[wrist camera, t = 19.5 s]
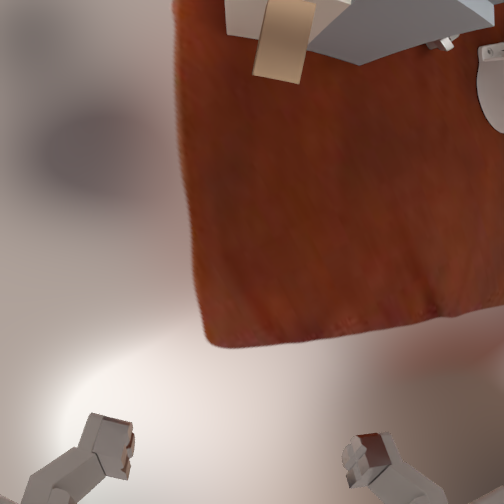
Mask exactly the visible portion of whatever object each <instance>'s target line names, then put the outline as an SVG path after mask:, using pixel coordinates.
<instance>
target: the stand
mask: <svg viewBox="0 0 504 504" xmlns="http://www.w3.org/2000/svg"><path fill="white" fill-rule="evenodd" d="M267 1H268V0H225V15H226V29H227V35H233V36H239V37H246V38H252V39H258V40H259V36H260V31H261V27H262V22H263V17H264V13H265V8H266V4H267ZM303 1H308V2H311V3H315V4H316V9H315V13H314V18H313V23H312V27H311V32H310V36H309V41H308V46H307V50H308V51H312V52H316V53H320V54H323V55H327V56H330V57H334V58H337V59H340V60H344V61H347V62H350V63H353V64H356V65H359V66H360V65H363V64H365V63H368V62H371V61H374V60H376V59H379V58H382V57H385V56H387V55H390V54H393V53H396V52H399V51H402V50H405V49H408V48H411V47H415V46H418V45H421V44H424V43H428V42H431V41H435V40H438V39H442V38H446V37H449V36H453V35H457V34H461V33H465V32H469V31H474V30H478V29H483V28H488V27H493V26H494V5H495V4H499V3H503V2H504V0H303Z"/></svg>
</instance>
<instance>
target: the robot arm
mask: <svg viewBox="0 0 504 504" xmlns="http://www.w3.org/2000/svg"><path fill="white" fill-rule="evenodd" d="M478 57H479V69H478V74H477V91H478V97H479V101H480V104H481V107H482V110H483V112H484V114H485V116H486V118H487V120H488V121H489V123H490V124H491V125H492V126H493V127H494V128H495V129H496V130H497V131H499V132H501V133H504V42H500V43H495V44H490V45H485V46H480V47H479V48H478ZM132 430H133V425H132V422H127V421H123V420H119V419H114V418H110V417H106V416H103V415H99V414H95V413H91V414H90V415H89V417H88V419H87V422H86V425H85V427H84V430H83V433H82V436H81V439H80V442H79V444H78V447H77V448H76V447H73V448H71V449H70V450H68V451H67V452H66V453H64V454H63V455H61V456H60V457H58V458H57V459H55V460H54V461H52V462H51V463H49V464H48V465H46V466H45V467H44V468H42V469H40V470H39V471H37V472H36V473H34V474H33V475H31V476H30V478H29V481H28V484H27V487H26V490H25V492H24V495H23V498H22V501H21V504H77V502H79V501H80V500H81V499H82V498H83V497H84V496H85V495H86V494H88V493H89V492H90V491H91V490H92V489H93V488H94V487H95V486H96V485H97V484H98V483H100V482H101V481H102V480H103V479H104V478H105V476H109V477H114V478H118V479H123V480H128V477H129V472H130V468H131V465H130V461H129V459H130V458H131V457H132V456H133V452H134V446H135V436H134V433H132ZM342 463H343V466H344V468H346V469H347V470H348V472H347V474H346V478H347V481H348V484H349V488H357V487H364V486H368V488H369V489H370V490H371V491H372V492H373V493H374V494H375V495H376V496H377V497H378V498H380V500H381V501H382V502H383V503H384V504H449V503H448V501H447V498H446V496H445V493H444V491H443V489H442V488H441V487H439V486H438V485H437V484H435V483H434V482H433V481H431V480H430V479H428V478H427V477H426V476H424V475H423V474H422V473H420V472H419V471H418V470H416V469H415V468H413V467H412V466H411V465H409V464H408V463H407V462H403V461H402V458H401V456H400V454H399V451H398V449H397V447H396V444H395V442H394V440H393V437H392V435H391V434H390V433H389V432H381V433H372V434H364V435H356V436H354V437H353V438H352V439H351V444H349V445H347V446H346V447H345V449H344V450H343V453H342ZM0 504H18V503H16V502H14V501H12V500H10V499H8V498H6V497H4V496H2V495H0ZM468 504H504V485H503V486H500V487H498V488H497V489H495V490H493V491H491V492H489V493H488V494H486V495H484V496H482V497H480V498H478V499H476V500H474V501H472V502H470V503H468Z"/></svg>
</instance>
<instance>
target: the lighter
mask: <svg viewBox="0 0 504 504" xmlns="http://www.w3.org/2000/svg"><path fill="white" fill-rule="evenodd" d="M458 36H459V34H457V35H453V36H449V37H446V38H442V39H438V40H435V41H431V42H428V43H425V44H426V45H427V46H428V48H429V49H434V48H438V49H439V50H443V51H449V50H450V49H452V48H454V46H453V44H452V43H451V42H452V41H453V40H454V39H456V38H457V37H458Z"/></svg>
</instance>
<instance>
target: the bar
mask: <svg viewBox="0 0 504 504" xmlns="http://www.w3.org/2000/svg"><path fill="white" fill-rule="evenodd" d="M315 9H316V4H315V3H311V2H308V1H303V0H268V1H267V4H266V8H265V13H264V17H263V22H262V27H261V31H260V36H259V41H258V46H257V51H256V56H255V60H254V65H253V70H252V75H255V76H261V77H267V78H272V79H277V80H282V81H287V82H291V83H296V84H299V82H300V78H301V73H302V69H303V64H304V59H305V55H306V50H307V46H308V41H309V36H310V32H311V27H312V23H313V18H314V13H315Z"/></svg>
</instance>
